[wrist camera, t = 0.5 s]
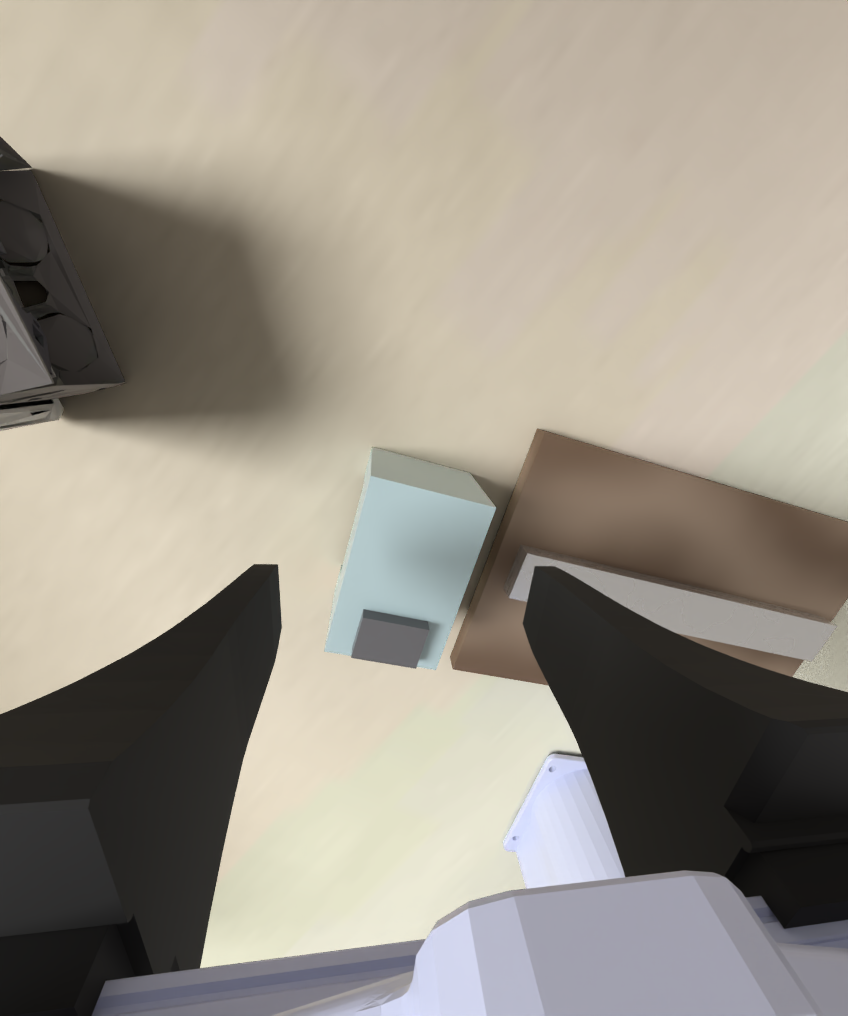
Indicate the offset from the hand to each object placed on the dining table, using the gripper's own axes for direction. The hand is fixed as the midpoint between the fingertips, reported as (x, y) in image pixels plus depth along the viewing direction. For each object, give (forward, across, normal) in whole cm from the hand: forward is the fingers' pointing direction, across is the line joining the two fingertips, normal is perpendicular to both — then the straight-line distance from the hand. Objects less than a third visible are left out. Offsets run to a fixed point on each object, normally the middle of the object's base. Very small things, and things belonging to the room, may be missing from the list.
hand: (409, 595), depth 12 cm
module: (+10, -1, +3) cm, 10 cm away
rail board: (+9, -16, +6) cm, 20 cm away
